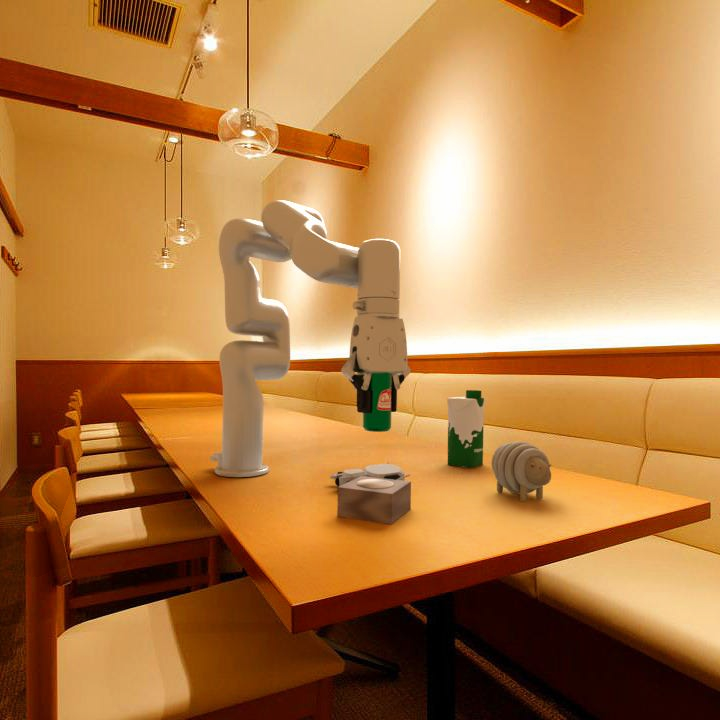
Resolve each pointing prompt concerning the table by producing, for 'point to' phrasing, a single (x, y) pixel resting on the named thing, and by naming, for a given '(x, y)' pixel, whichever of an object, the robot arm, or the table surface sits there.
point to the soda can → (379, 403)
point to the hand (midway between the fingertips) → (376, 410)
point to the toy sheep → (521, 469)
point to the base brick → (374, 499)
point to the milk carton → (466, 429)
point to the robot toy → (370, 473)
